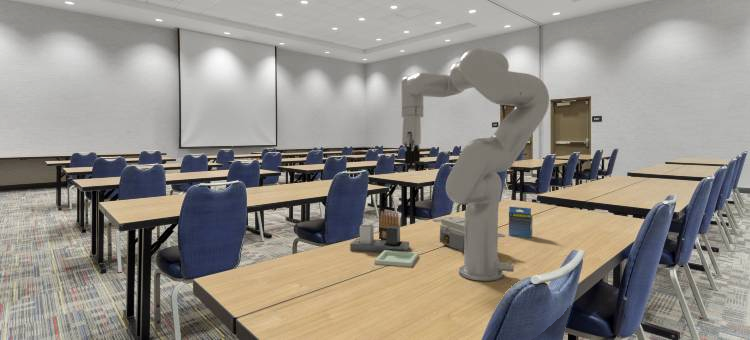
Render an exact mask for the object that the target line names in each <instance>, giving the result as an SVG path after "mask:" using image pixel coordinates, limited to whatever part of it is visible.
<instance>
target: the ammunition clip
mask: <svg viewBox="0 0 750 340" xmlns="http://www.w3.org/2000/svg"><path fill="white" fill-rule="evenodd" d="M379 219H380V220H379V227H378V240H379V239H381V240H386V228H387V227H388V226H400V222H399V214H398V213H397V212H396V213H395V212H393V213H392V212H391V211H390V212H389V211H387V212H386V210H384V211H383V210H381V211H380V218H379Z"/></svg>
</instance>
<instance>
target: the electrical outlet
mask: <svg viewBox="0 0 750 340" xmlns="http://www.w3.org/2000/svg"><path fill="white" fill-rule="evenodd" d="M432 221H433V222H434V223H441V224H440V227H439V243H441V244H443V245H446V246H447V247H450V248H452V249H455V250H458V251H460V252H463V253H464V227H465V217H461V216H451V217H450V216H449V217H443V218H438V219H435V218H434V219H432ZM505 237H506V234H503V233H498V239H499V238H505Z"/></svg>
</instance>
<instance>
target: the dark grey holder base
mask: <svg viewBox="0 0 750 340" xmlns="http://www.w3.org/2000/svg"><path fill="white" fill-rule="evenodd" d="M349 248H350V249H349V250H350V251H351V252H352V251H354V252H355V251H356V252H365V253H380V254H381V253H382V252H383V251H384V250H389V251H403V252H409V249H410V241H406V240H405V241H403V240H401V226H400V225H399V226H388V227H387V228H386V240H379V239H374V243H373V244H360V238H358V237H357V238H356V239H355V240H353V241H352V242H350V244H349Z"/></svg>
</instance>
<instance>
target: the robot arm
mask: <svg viewBox="0 0 750 340" xmlns="http://www.w3.org/2000/svg"><path fill="white" fill-rule="evenodd" d="M509 68H510V65H509V61H508V59H507V57H506V56H505V55H504V54H502V53H501V52H499V51H495V50H494V51H493V50H489V49H484V48H483V49H482V48H472V49H470V50H467V51H466V52H465V53H464V54H463V55H462V57H461V58H460V60H459V61H457V62H455V63H454V64H453V65H451V68H450V73H446V74H438V73H437V74H436V73H429V72H419V73H416V74H414V75H411V76H406V77H403V78H402V79H401V118H403V119H402V120H403V121H402V143H401V144H402V145H403V146H404V147H405V148H404V161H405V162H404V163H405V164H414V163H415V162H420V161H421V155H420V154H421V150H420V149H421V147H420V145H421V141H422V139H421V137H422V127H421V126H422V125H421V124H422V123H421V118H424V97H430V98H447V97H451V96H456V95H459V94H461V93H463V92H464V91H466V90H468V89H472V88H474V89H475V90H477V92H478V93H479V94H481V95H482V96H483V97H484V98H485V99H487V101H489V102H491V103H493V104H495V105H501V106H514V108H513V109H512V110H511V111H510V112H509V113H508V114H507V115H505V117H504V118H503V119H502V121H501V122H500V123H499V125H498V128H497V129H496V130H495V132H494V133H493V135H492V136H490V137H481V138H480V137H479V138H475V139H473V140H471V141H469V142H468V143H467V144H466V145H465V147H464V148H463V149H462V150H461V152H460V155H459V156H458V158H457V160H456V161H455V164H454V165H453V167H452V168H451V170H450V172H449V174H448V176H447V179H446V183H445V192H446V196H447V197H448V198H449V200H451V202H453V203H455V204H462V205H464V204H467V205H466V207H465V211H464V218H465V227H464V252H463V253H464V254H463V255H464V258H463V263H464V264H463V265H461V266H460V267H459V268H458V274H460V276H462V277H463V278H466V279H468V280H474V281H481V282H482V281H483V282H490V281H497V280H499V279H501V278H502V277H503V274H504V273H503V272H510V273H514V270H515V269H514V264H510V263H509V262H502V261H499V257H498V242H499V241H498V239H499V238H498V234H499V233H498V232H499V228H498V227H499V226H498V223H499V207H500V206H499V205H500V201H501V200H500V199H501V195H502V191H503V190H502V188H503V184H502V182H503V181H502V179H501V177H500V175H499V174H498V173H503V172H506V171H508V170H509V169H511V168H512V166H513V165H514V163H515V162H516V160H517V159H518V157H519V156H520V155H521V153H522V151H523V150H524V148H525V146H526V145H527V144H528V142H529V140H530V138H531V137H532V135H533V134H534V133H535V131H536V129H537V128H538V127H539V125H540V124H541V122H542V121H543V120H544V118H545V115H546V114H547V112H548V109H549V106H550V105H549V104H550V95H549V90H548V87H547V85H546V84H545V83H544V81H543V80H542V79H540V78H539V77H537V76H536V75H534V74H531V73H530V74H529V73H525V72H519V71H518V72H516V71H510V69H509Z"/></svg>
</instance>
